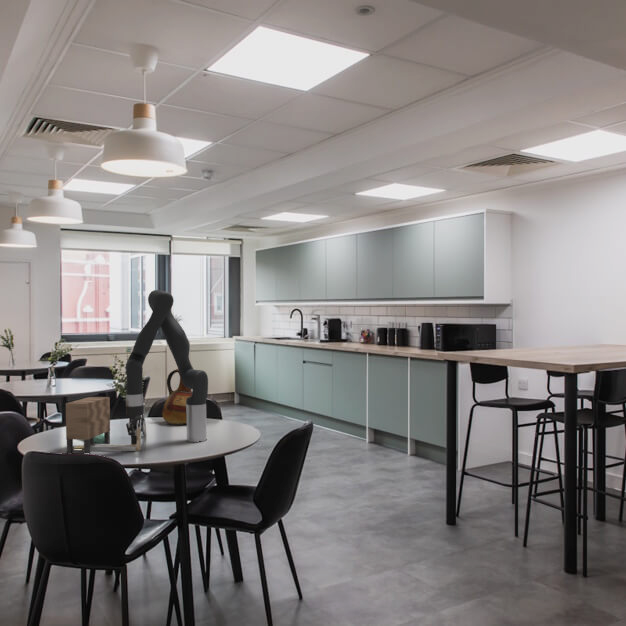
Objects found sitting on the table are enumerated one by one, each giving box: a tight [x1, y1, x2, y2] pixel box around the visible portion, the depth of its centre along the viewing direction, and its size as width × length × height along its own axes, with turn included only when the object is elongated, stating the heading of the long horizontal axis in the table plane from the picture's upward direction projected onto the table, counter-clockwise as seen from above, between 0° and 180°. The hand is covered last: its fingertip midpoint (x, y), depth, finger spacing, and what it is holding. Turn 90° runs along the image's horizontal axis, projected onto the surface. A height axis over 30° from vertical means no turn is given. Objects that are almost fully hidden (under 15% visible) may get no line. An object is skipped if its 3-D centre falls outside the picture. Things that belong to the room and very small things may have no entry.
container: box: [94, 433, 104, 444], centre depth 296 cm, size 6×6×25 cm
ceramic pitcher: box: [161, 368, 193, 425], centre depth 340 cm, size 20×20×30 cm
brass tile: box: [73, 444, 84, 450], centre depth 278 cm, size 5×5×2 cm
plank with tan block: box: [90, 427, 142, 452], centre depth 275 cm, size 5×25×10 cm, turn 82°
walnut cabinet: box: [65, 396, 111, 454], centre depth 277 cm, size 20×10×22 cm, turn 171°
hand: (135, 443), depth 274 cm, fingers closed on plank with tan block, 3 cm apart
